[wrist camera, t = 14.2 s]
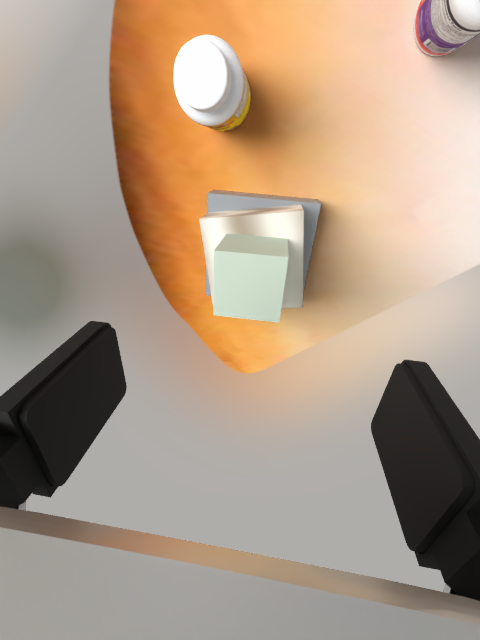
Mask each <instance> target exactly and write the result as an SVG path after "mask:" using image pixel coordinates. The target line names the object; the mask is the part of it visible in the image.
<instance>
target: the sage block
mask: <svg viewBox="0 0 480 640" xmlns="http://www.w3.org/2000/svg"><path fill="white" fill-rule="evenodd" d="M288 258H289V255H288V239H287V238H275V237H263V236H251V235H240V234H228V233H227V234H226V235H225V236H224V238H223V239H222V240H221V242H220V243H219V244H218V246H217V247H216V248H215V250H214V315H216V316H225V317H234V318H243V319H252V320H261V321H270V322H279V321H280V314H281V307H282V300H283V293H284V286H285V279H286V272H287V265H288Z"/></svg>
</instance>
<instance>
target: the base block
mask: <svg viewBox="0 0 480 640" xmlns="http://www.w3.org/2000/svg"><path fill="white" fill-rule="evenodd" d="M292 205H302V208H303V210H304V236H303V291H304V286H305V281H306V277H307V272H308V267H309V262H310V257H311V252H312V247H313V242H314V237H315V232H316V227H317V222H318V217H319V212H320V207H321V203H320V202H319V201H318V199H308V198H297V197H286V196H275V195H265V194H254V193H243V192H233V191H222V190H213V191H210V192H208V193H207V213H208V212H220V211H232V210H244V209H256V208H268V207H280V206H292ZM206 295H210V296H211V290H210V284H209V278H208V271H207V265H206Z"/></svg>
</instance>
